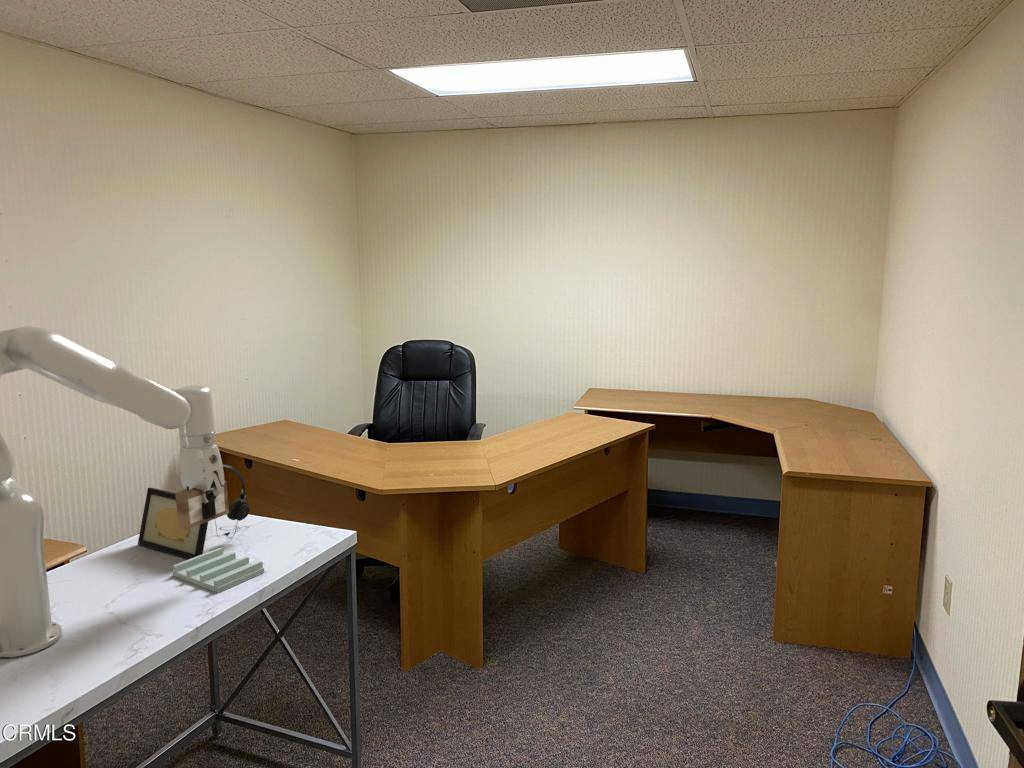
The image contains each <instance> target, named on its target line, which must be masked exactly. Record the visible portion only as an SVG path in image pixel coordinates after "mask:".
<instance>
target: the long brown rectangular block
mask: <svg viewBox="0 0 1024 768" xmlns="http://www.w3.org/2000/svg"><path fill="white" fill-rule="evenodd" d="M227 483H228V481H227V480H224V485H223V486H221V487H222V489H223V493H221V494H219V495H218V496H217V497H216V500H215V509H216V515H215V516H214V517H211V518H208V519H206V520H205V519H203V513H202V503H203V496H202V490H199V489H195V488H193V489H190V490H184V491H181V492H179V493H177V494H176V505H177V515H178V525H179V528H180V529H184V530H188V529H190V528H193V527H195V526H198V525H200V524H203V523H205V522H208V523H209V522H211V521H213V520H217V519H218V518H220V517H224V516H225V515H226V516H227V514H228V513H229V506H230V505H229V496H228V495H229V493H228V484H227ZM207 493H208V494H209V493H210V491H209V492H207Z"/></svg>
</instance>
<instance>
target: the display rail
mask: <svg viewBox="0 0 1024 768" xmlns="http://www.w3.org/2000/svg"><path fill="white" fill-rule="evenodd" d="M223 549H224V548H223V547H219V548H216V549H213V550H210V551H207V552H205V553H203V554H202V555H199V556H197V557H194V558H191V559H187V560H184V561H181V562H178V563H176V564H174V565H173V570H172V576H173V577H176V578H179V579H181V580H183V581H187V582H189V583H191V584H195V585H197V586H200V587H202V588H205V589H207V590H210V591H213V592H215V593H218V594H219V593H221V592H223V591H226V590H228V589H231V588H232V587H235V586H238V585H239V584H242V583H244V582H246V581H248V580H251V579H253V578H255V577H258V576H260V575H262V574H264V573H265V567H264V565H263V561H261V560H257V561H255V562H253V563H250V557H249V556H244V557H241V558H239V559H238V558H237V555H236V552H235V551H231V552H229V553H226V554H224V550H223Z"/></svg>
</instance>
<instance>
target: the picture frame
mask: <svg viewBox="0 0 1024 768" xmlns="http://www.w3.org/2000/svg"><path fill="white" fill-rule="evenodd" d="M176 494H178V493H177V492H174V491H167V490H164V489H159V488H155V487H148V488H147V492H146V495H145V502H144V508H143V512H142V519H141V522H140V523H141V524H140V530H139V536H138V541H137V545H138V546H142V547H146V548H149V549H153V550H155V551H160V552H163V553H167V554H170V555H174V556H178V557H181V558H184V559H187V560H189V559H191V558H194V557H197V556H199V555H202V554H204V551H205V550H204V549H205V543H206V537H207V531H208V525H209V521H208V522H205V523H203V524H200V525H198V526H195V527H193V528H190V529H188V530H184V529H180V528H179V525H178V515H177V505H176Z"/></svg>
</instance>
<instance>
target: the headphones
mask: <svg viewBox="0 0 1024 768" xmlns="http://www.w3.org/2000/svg"><path fill="white" fill-rule="evenodd" d="M222 465H223V469H224V468H225V469H227V470H230V471H231V472H233V473H234V474H235V475H236V476H237V477H238V479H239V480H240V483H241V492H240V495H239V497H240V498H237V499H235V500H233V501H232V503H230V505H229V513H228V514H226V516H227V518H228V520H232V521H237V522H236V525H235V529H236V528H237V529H238V527H237V526H238V522H241V521H242V520H244V519H246V518H247V517H248V515H249V514H250V511H251V507H250V505H249V504H248V503H247V501H246V499H248V492H247V489H246V488H247V487H246V484H245V483H246V482H245V480H244V478H243V476H242V474H241V473H240V471H239V470H238V469H237V468H235V467H234V466H232V465H230V464H222ZM214 524H215V530H216V531H218V527H217V523H216V521H214ZM230 532H231V531H229V532H224V534H228V535H230V534H231V533H230ZM236 532H237V530H235V532H233V535H231V538H232V537H234V536H235V534H236ZM229 533H230V534H229ZM224 534H222V536H225V535H224ZM216 536H217V537H219V535H218V534H216Z"/></svg>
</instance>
